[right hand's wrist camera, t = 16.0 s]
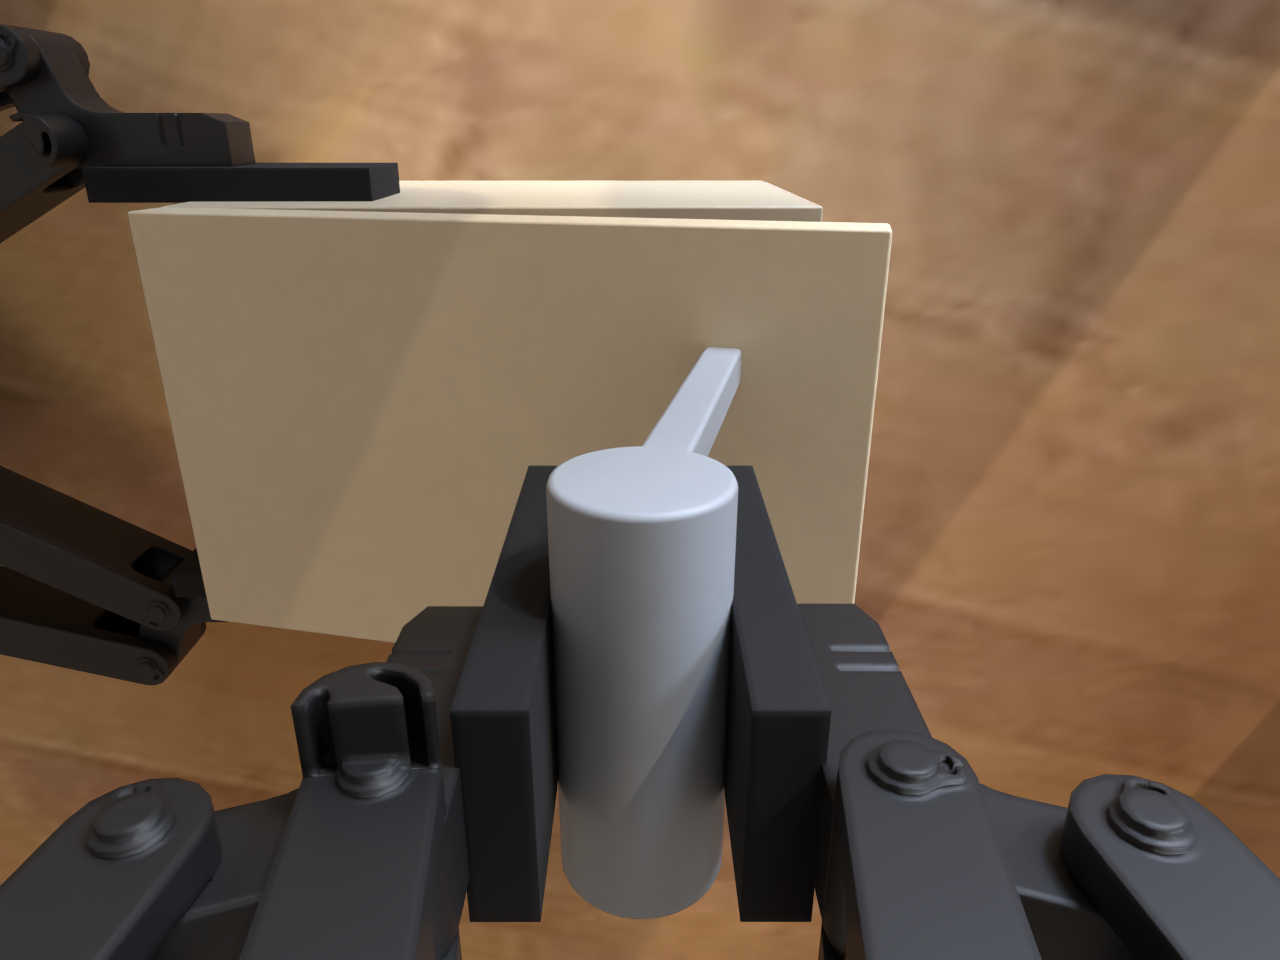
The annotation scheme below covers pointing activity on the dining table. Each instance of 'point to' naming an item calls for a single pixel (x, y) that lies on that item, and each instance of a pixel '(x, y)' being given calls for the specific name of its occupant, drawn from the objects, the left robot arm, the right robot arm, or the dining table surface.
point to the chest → (573, 200)
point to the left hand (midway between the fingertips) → (406, 386)
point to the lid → (529, 457)
